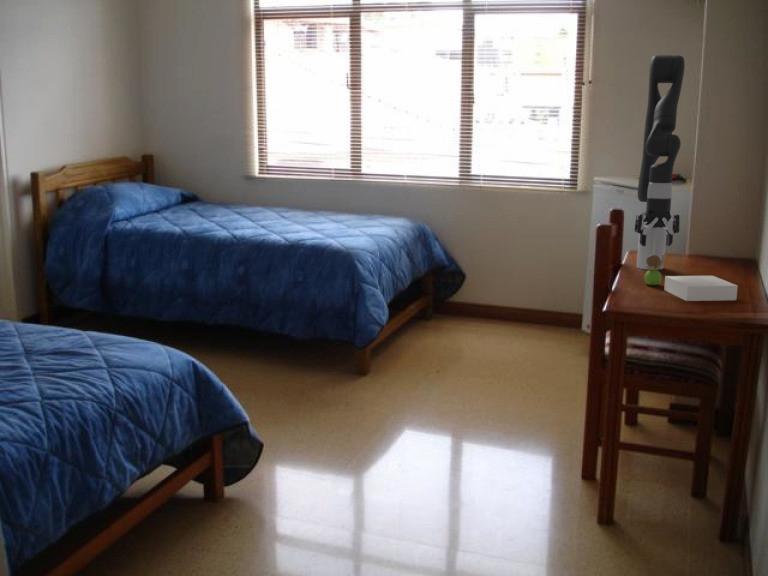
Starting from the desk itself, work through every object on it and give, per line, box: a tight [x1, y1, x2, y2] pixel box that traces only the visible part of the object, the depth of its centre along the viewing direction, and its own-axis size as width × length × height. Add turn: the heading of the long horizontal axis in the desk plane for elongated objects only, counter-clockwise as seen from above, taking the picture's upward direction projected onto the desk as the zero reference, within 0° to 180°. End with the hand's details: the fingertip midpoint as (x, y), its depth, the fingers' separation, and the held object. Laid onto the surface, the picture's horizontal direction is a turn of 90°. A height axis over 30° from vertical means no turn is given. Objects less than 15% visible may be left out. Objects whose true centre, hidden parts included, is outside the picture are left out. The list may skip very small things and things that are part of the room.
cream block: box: [663, 275, 739, 302], centre depth 258 cm, size 16×16×5 cm
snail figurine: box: [644, 250, 667, 287], centre depth 270 cm, size 5×6×12 cm
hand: (655, 245), depth 269 cm, fingers open, 8 cm apart
